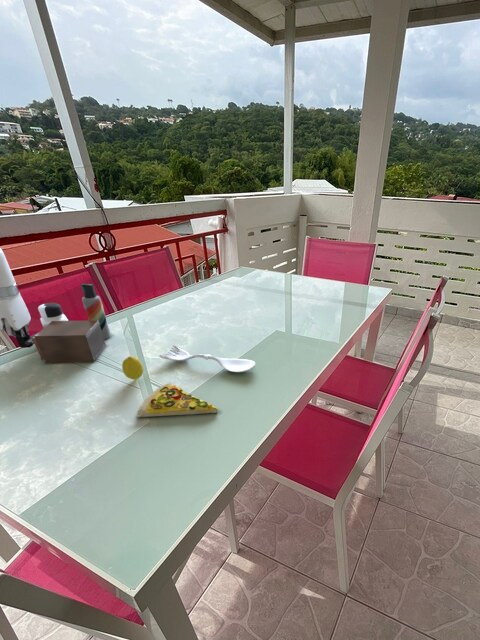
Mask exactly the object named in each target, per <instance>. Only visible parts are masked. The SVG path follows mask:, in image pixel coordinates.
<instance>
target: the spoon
mask: <svg viewBox="0 0 480 640" xmlns="http://www.w3.org/2000/svg"><path fill="white" fill-rule="evenodd" d="M158 356H159V358H161V359H165V360H169V361H176V362H186V361H189V360H191V359H195V358H202V359H204V360H213V361H216V363H218V364H219V365H220V366H221V367H222V368H223V369H224V370H226V371H227V372H232V373H246V372H249V371H252V370H254V368H255V367H256V362H255V361H254V360H251V359H245V358H225V357H224V358H222V357H217V356H213V355H211V354H203V353H195V354H190V353H189V352H188V351H187V350H184V349H182V348H180V347H179V346H177V345H175V344H172V347H171V349H169V351H167V353H163V354H159V355H158Z"/></svg>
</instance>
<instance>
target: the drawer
mask: <svg viewBox="0 0 480 640" xmlns="http://www.w3.org/2000/svg"><path fill="white" fill-rule="evenodd" d="M36 334H37V333H34V334H32V335H31V336H30V338H29V339H28V340H27V341H25V344H26V345H30V344H33V345H34V346H35V348H36V351H37V353H38V356H39V358H40V360H41V361H45V360H44V358H43V355H42V353H41V351H40V348H39V346H38V344H37V341H36V339H35V337H34V336H35V335H36Z"/></svg>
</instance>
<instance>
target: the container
mask: <svg viewBox="0 0 480 640" xmlns="http://www.w3.org/2000/svg"><path fill="white" fill-rule="evenodd" d="M37 310H38V312H39V315H40V318H39V321H40V323H41V325H42V329H43V328H44V327H46V326H47V325H48V324H49V323H50V322H52V321H69V319H68V318H67V316H66V315H65V314H64V312H63V309H62V307H61V304H58V303H56V302H47V303H42V304H40V305H39V306H38V307H37Z"/></svg>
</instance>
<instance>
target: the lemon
mask: <svg viewBox="0 0 480 640" xmlns="http://www.w3.org/2000/svg"><path fill="white" fill-rule="evenodd" d="M121 369H122V372H123V374H124V376H125V377H126V378H128V379H130V380H134V381H137V380H138V379H139V378H141V377H142V375H143V373H144V367H143V364H142V362H141V361H140V359H139V358H137V357H135V356H131V355H129V356H127V357H126V358H124V360H123V361H122V364H121Z"/></svg>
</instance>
